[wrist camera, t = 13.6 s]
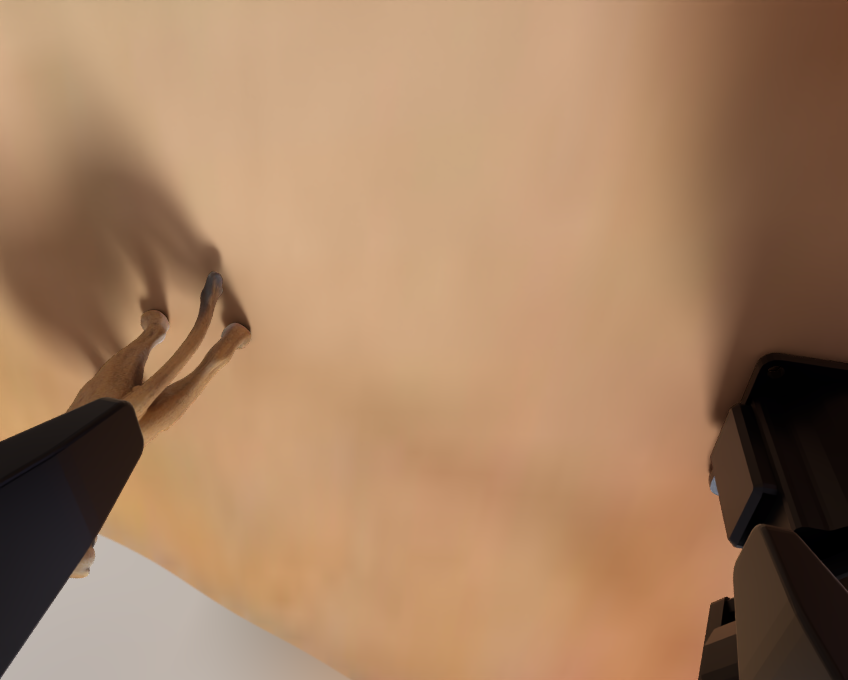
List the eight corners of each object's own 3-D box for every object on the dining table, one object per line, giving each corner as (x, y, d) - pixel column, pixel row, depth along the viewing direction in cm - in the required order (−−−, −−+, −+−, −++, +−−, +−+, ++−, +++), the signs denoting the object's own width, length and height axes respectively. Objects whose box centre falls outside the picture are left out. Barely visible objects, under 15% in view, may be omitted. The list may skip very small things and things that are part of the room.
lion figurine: (165, 479, 33) (41, 636, 25) (77, 424, 32) (-77, 570, 24) (278, 302, 24) (140, 460, 17) (162, 221, 23) (-35, 351, 16)
